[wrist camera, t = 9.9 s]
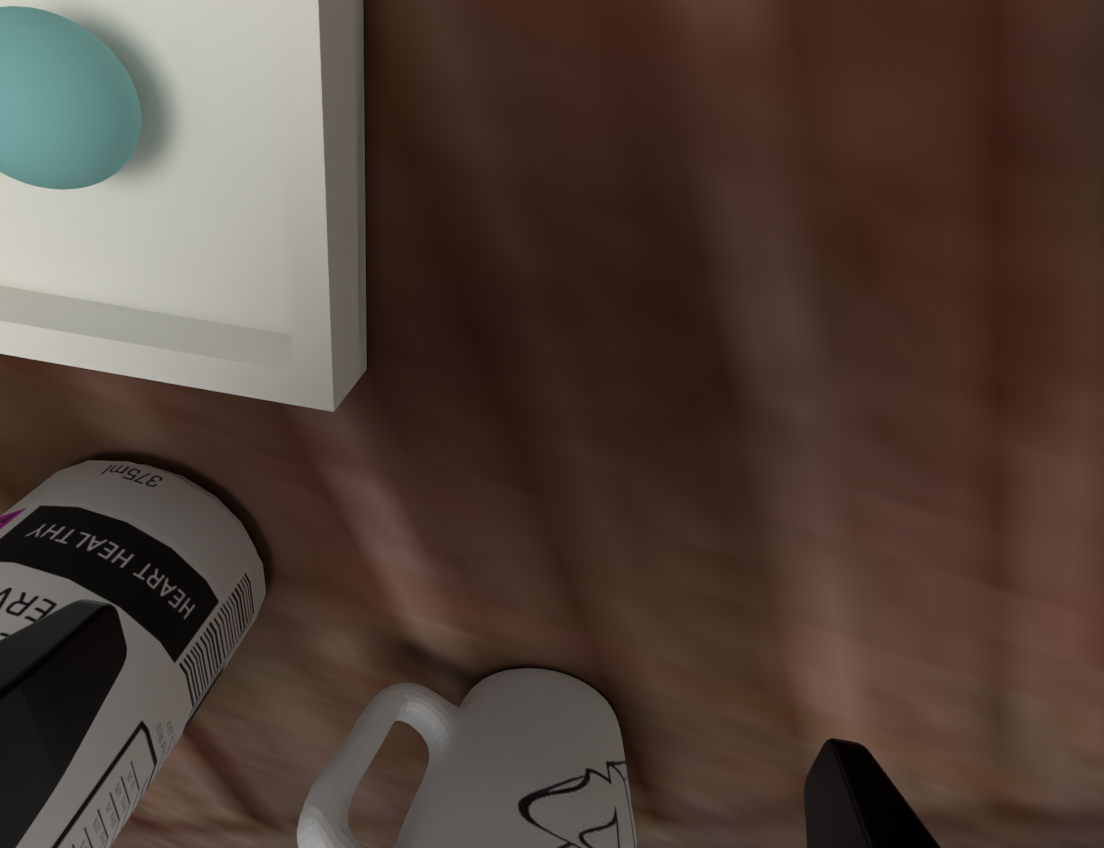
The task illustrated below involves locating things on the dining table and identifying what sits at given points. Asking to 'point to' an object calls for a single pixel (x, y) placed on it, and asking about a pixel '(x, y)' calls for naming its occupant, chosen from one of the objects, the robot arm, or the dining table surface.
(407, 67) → the dining table surface
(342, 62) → the tray
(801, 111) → the dining table surface
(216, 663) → the supplement can
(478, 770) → the mug
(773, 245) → the dining table surface
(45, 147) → the ball
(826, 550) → the dining table surface
